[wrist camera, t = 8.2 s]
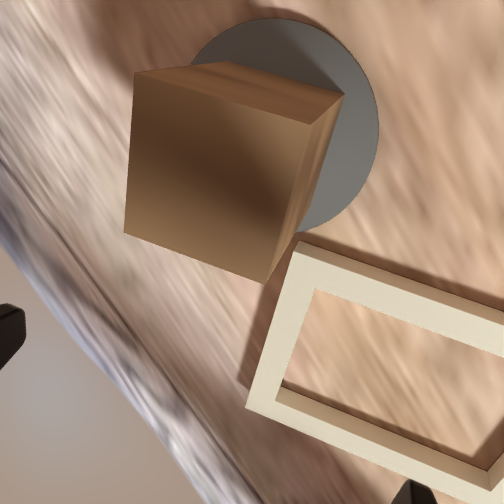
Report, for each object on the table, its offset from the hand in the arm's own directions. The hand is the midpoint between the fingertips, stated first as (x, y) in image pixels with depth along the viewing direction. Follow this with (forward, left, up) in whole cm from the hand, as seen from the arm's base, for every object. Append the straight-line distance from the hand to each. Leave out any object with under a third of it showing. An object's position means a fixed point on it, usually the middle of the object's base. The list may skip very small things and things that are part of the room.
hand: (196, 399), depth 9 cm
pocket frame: (-7, -8, -12) cm, 16 cm away
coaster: (+3, +2, -12) cm, 13 cm away
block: (+3, +2, -12) cm, 12 cm away
